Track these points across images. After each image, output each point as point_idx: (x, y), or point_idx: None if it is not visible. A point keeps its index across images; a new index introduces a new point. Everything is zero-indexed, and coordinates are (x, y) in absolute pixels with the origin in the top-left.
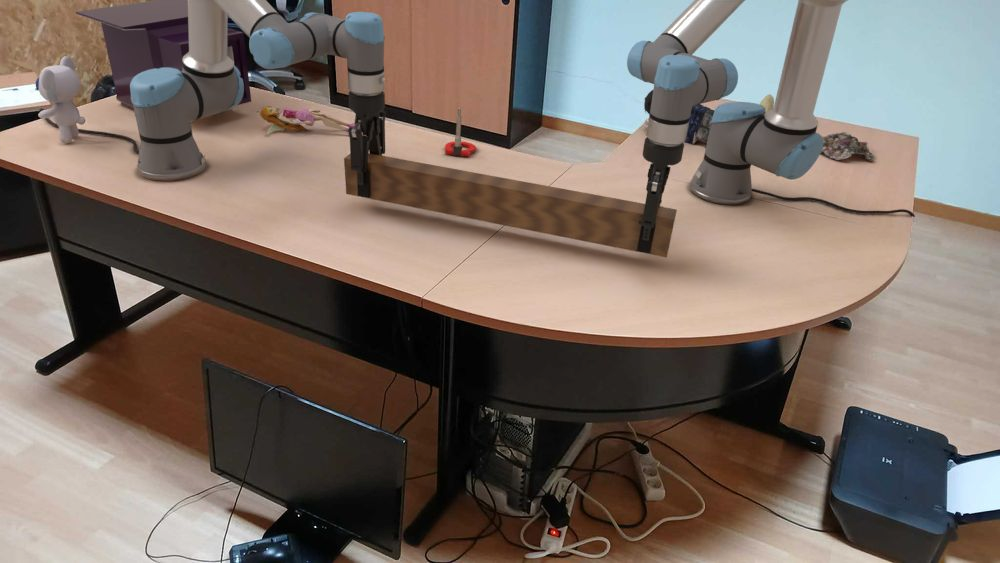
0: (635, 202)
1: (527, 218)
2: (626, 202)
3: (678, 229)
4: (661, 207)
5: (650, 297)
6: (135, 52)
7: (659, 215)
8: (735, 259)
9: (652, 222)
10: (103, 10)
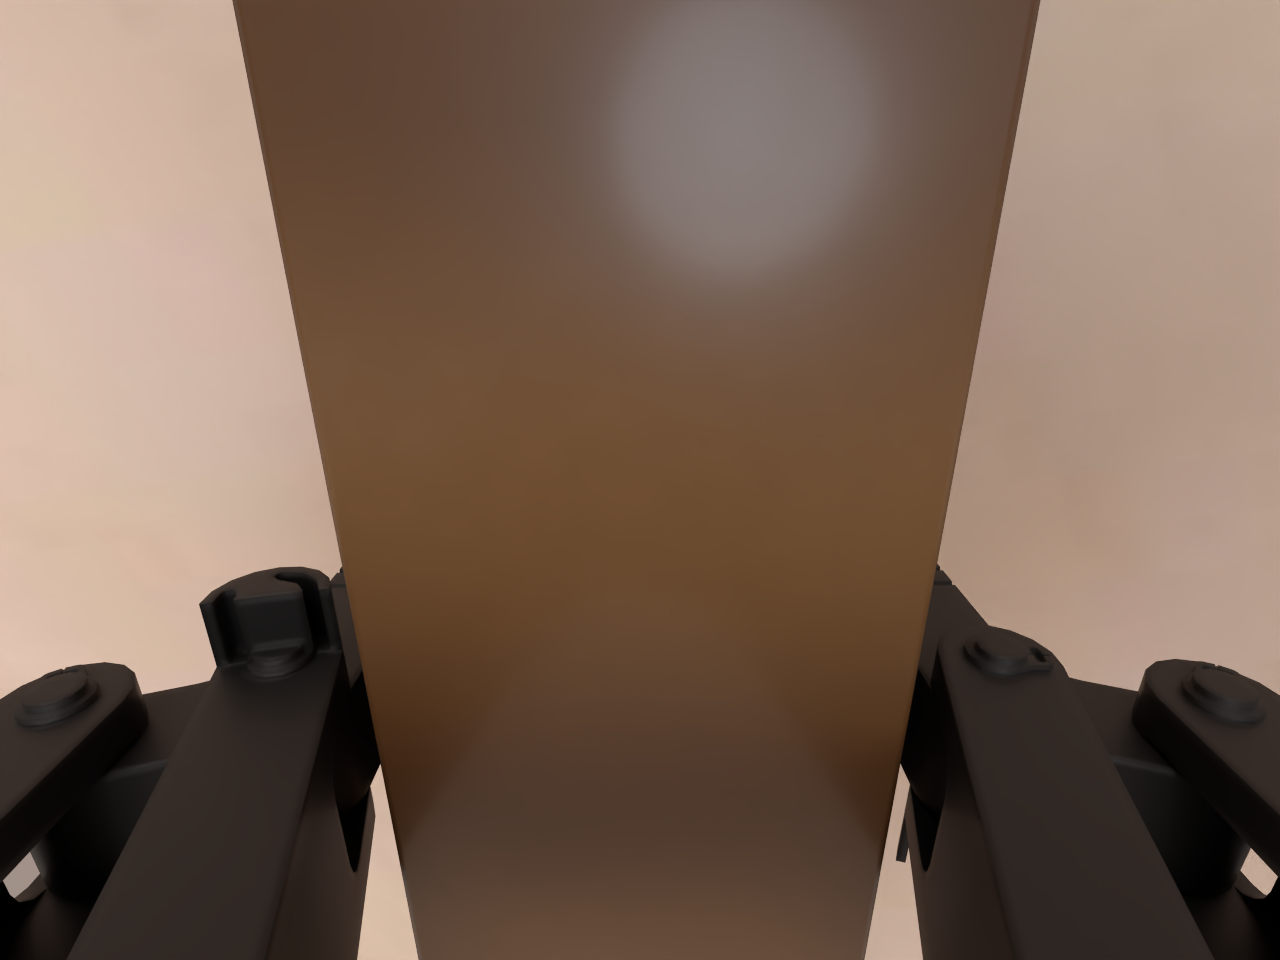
0: (923, 470)
1: None
2: (840, 229)
3: (1266, 605)
4: (833, 939)
5: (192, 547)
6: None
7: (477, 944)
8: (903, 906)
9: (1, 925)
10: None
